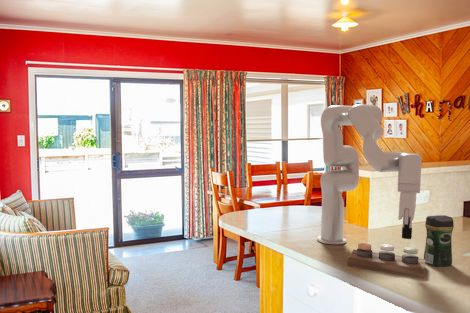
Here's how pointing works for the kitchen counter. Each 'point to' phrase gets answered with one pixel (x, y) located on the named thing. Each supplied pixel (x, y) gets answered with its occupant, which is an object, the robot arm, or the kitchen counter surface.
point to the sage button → (410, 250)
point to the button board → (387, 262)
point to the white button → (387, 247)
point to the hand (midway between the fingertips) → (406, 238)
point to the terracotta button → (364, 246)
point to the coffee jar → (438, 240)
